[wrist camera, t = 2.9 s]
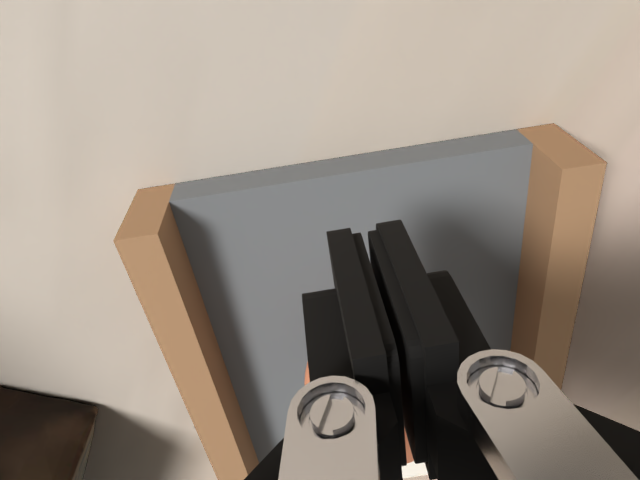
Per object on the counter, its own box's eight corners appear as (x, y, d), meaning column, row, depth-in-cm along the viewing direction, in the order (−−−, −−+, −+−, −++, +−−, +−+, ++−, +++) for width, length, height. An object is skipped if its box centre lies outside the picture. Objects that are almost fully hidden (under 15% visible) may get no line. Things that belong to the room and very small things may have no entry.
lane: (138, 189, 16) (90, 287, 12) (554, 123, 16) (655, 197, 12) (284, 574, 31) (286, 678, 27) (498, 541, 31) (534, 639, 27)
